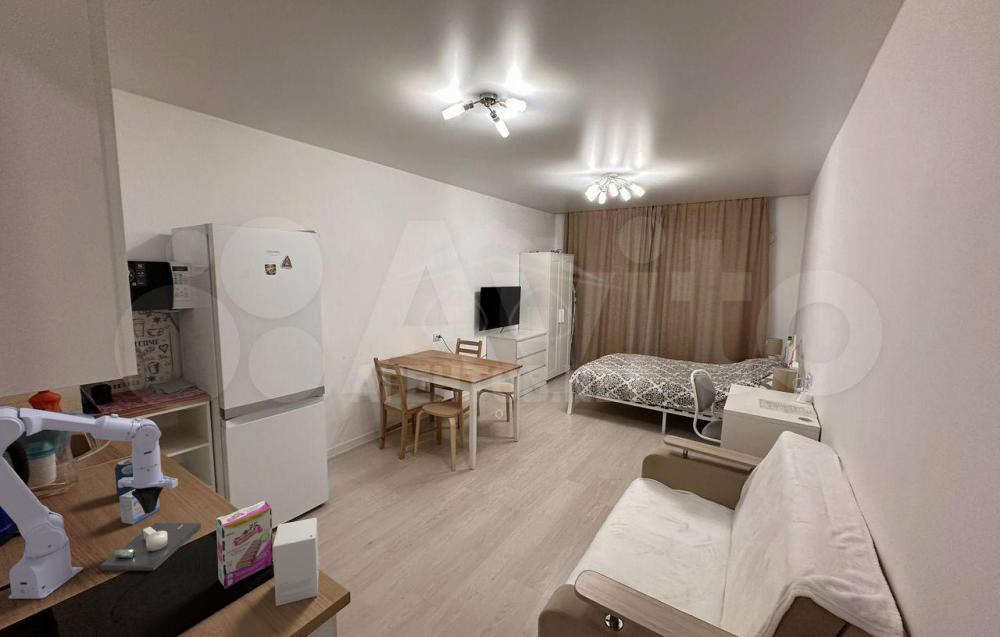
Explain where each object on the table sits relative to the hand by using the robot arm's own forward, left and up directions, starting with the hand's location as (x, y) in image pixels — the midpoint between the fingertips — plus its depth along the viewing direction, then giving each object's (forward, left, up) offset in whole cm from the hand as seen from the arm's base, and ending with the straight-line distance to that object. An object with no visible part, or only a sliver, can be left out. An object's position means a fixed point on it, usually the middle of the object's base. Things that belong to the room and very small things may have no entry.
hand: (150, 511), depth 112 cm
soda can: (+24, +26, -10) cm, 36 cm away
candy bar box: (-11, -32, -10) cm, 35 cm away
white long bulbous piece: (-2, -2, -8) cm, 8 cm away
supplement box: (-16, -47, -10) cm, 51 cm away
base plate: (-2, -2, -9) cm, 10 cm away
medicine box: (+12, +13, -10) cm, 20 cm away
